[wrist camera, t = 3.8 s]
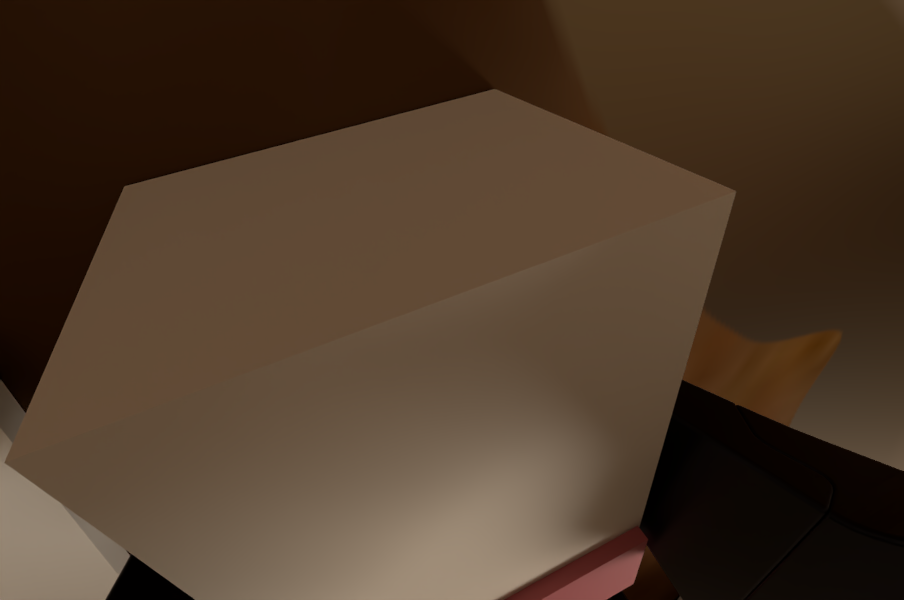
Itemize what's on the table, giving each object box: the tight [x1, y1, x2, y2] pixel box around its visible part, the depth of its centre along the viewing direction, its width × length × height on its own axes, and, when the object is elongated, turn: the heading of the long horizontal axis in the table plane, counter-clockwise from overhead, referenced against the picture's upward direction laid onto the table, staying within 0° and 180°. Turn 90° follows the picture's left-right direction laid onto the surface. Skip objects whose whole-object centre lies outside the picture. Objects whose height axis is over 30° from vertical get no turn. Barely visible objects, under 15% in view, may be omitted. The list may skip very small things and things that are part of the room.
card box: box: [4, 89, 736, 600], centre depth 7 cm, size 8×6×5 cm, turn 7°
